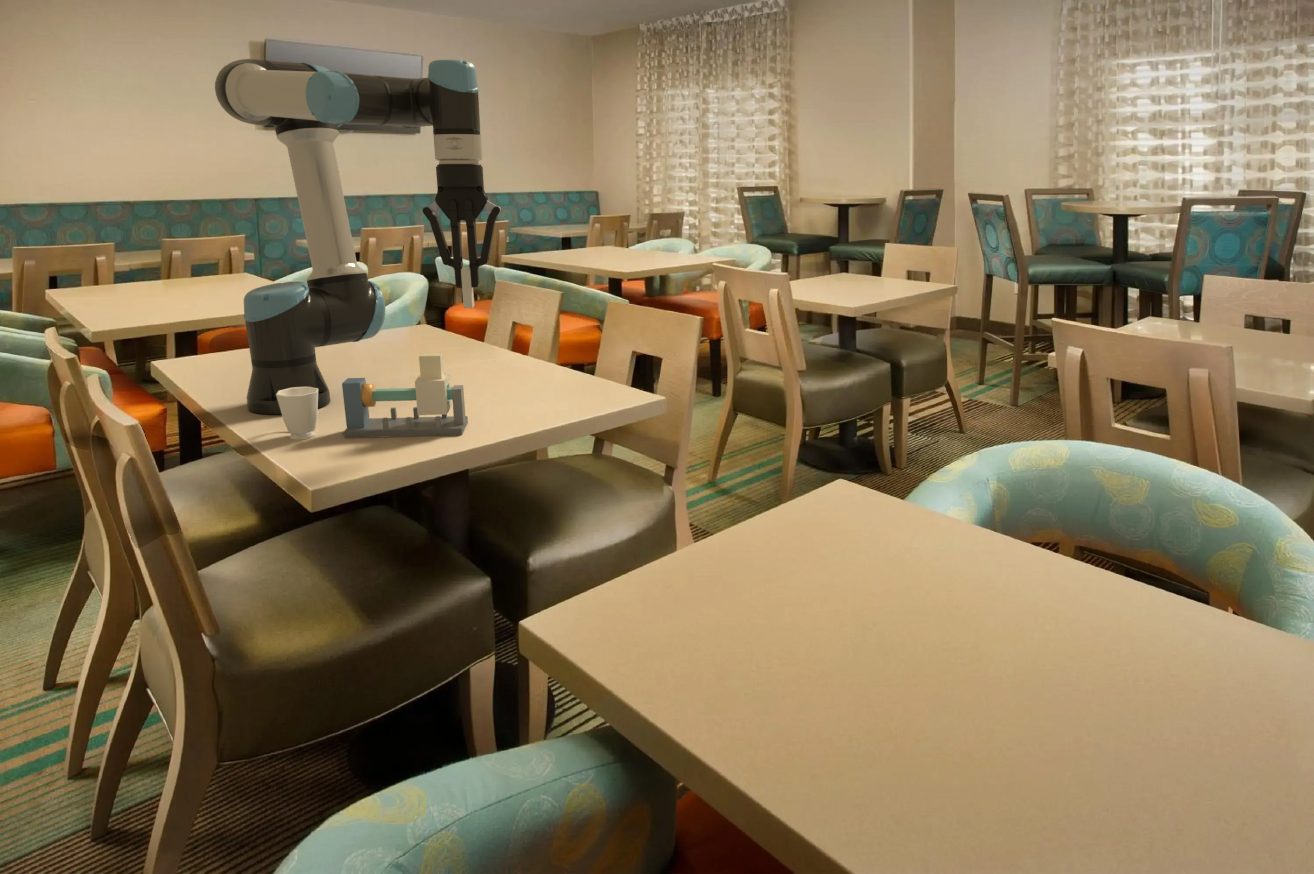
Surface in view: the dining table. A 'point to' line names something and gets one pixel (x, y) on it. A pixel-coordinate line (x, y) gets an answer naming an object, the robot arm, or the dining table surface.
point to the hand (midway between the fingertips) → (469, 306)
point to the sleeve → (432, 386)
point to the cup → (299, 411)
